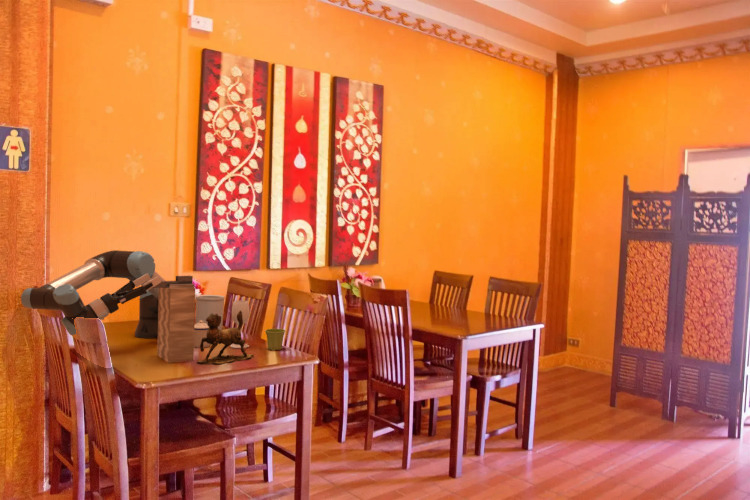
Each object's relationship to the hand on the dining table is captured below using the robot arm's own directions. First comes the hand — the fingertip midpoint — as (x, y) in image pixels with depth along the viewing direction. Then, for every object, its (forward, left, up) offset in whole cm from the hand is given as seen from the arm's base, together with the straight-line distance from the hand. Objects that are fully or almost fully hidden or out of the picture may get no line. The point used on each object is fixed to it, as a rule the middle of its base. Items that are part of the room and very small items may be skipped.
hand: (154, 277), depth 243 cm
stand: (-3, +10, -34) cm, 36 cm away
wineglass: (-13, +43, -34) cm, 57 cm away
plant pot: (-1, +55, -34) cm, 65 cm away
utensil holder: (-62, +47, -34) cm, 85 cm away
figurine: (+10, +27, -34) cm, 45 cm away
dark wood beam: (0, +6, -4) cm, 7 cm away
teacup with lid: (-23, +28, -34) cm, 50 cm away
